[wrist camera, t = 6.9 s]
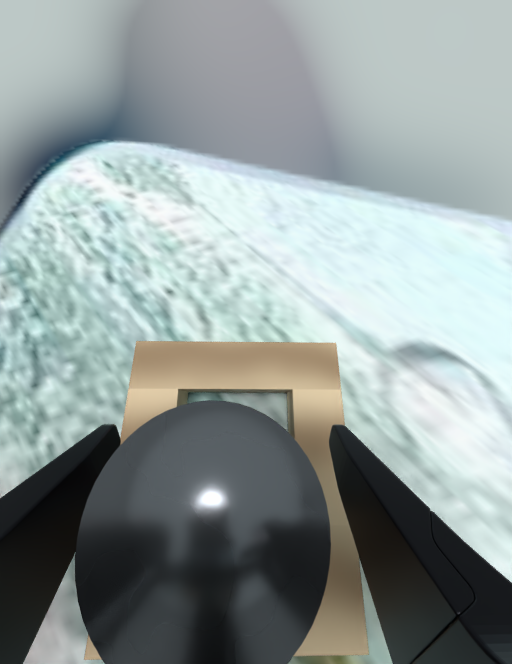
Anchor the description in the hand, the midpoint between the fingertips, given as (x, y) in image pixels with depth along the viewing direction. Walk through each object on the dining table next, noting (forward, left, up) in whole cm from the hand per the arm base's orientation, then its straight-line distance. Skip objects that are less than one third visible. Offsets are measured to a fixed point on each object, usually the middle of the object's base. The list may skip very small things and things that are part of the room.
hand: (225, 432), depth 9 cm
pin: (-1, 0, -8) cm, 8 cm away
